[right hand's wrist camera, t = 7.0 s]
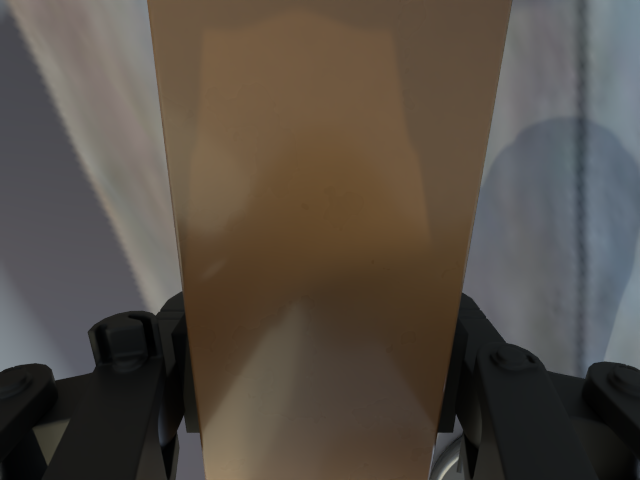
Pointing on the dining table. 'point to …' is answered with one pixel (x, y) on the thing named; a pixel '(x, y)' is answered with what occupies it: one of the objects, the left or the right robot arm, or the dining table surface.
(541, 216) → the dining table surface
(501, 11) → the beam
